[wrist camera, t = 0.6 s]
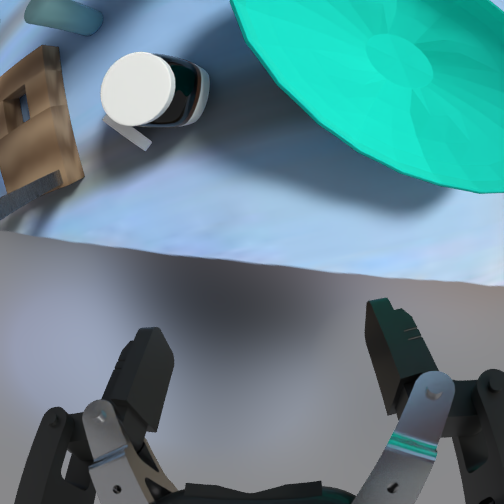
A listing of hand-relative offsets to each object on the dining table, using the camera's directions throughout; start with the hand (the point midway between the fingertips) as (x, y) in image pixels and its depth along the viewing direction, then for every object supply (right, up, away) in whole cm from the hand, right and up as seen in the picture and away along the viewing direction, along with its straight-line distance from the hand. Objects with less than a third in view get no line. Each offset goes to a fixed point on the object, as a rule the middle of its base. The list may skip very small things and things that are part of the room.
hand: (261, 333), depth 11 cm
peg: (-22, +34, +14) cm, 43 cm away
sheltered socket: (-33, +21, +21) cm, 44 cm away
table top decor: (+18, +27, +16) cm, 36 cm away
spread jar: (-11, +21, +21) cm, 32 cm away
